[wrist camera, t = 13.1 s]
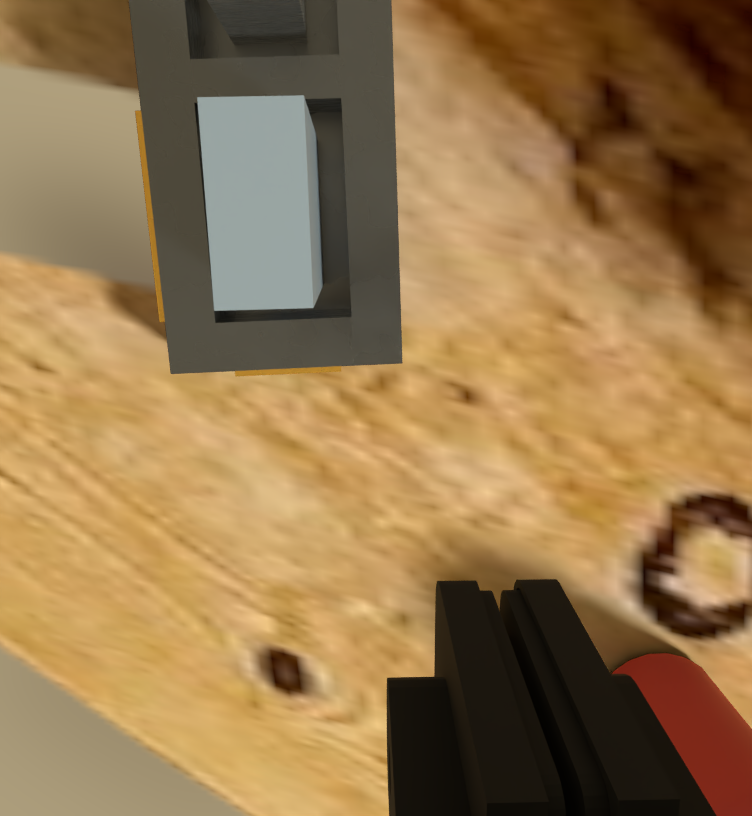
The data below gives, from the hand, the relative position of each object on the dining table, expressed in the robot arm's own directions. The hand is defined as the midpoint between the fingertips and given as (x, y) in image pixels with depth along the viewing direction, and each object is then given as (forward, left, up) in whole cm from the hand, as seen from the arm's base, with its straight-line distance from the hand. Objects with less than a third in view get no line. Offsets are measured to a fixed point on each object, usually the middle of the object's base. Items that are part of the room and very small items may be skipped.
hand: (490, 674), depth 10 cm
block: (+4, -7, -23) cm, 24 cm away
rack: (+4, -12, -24) cm, 27 cm away
